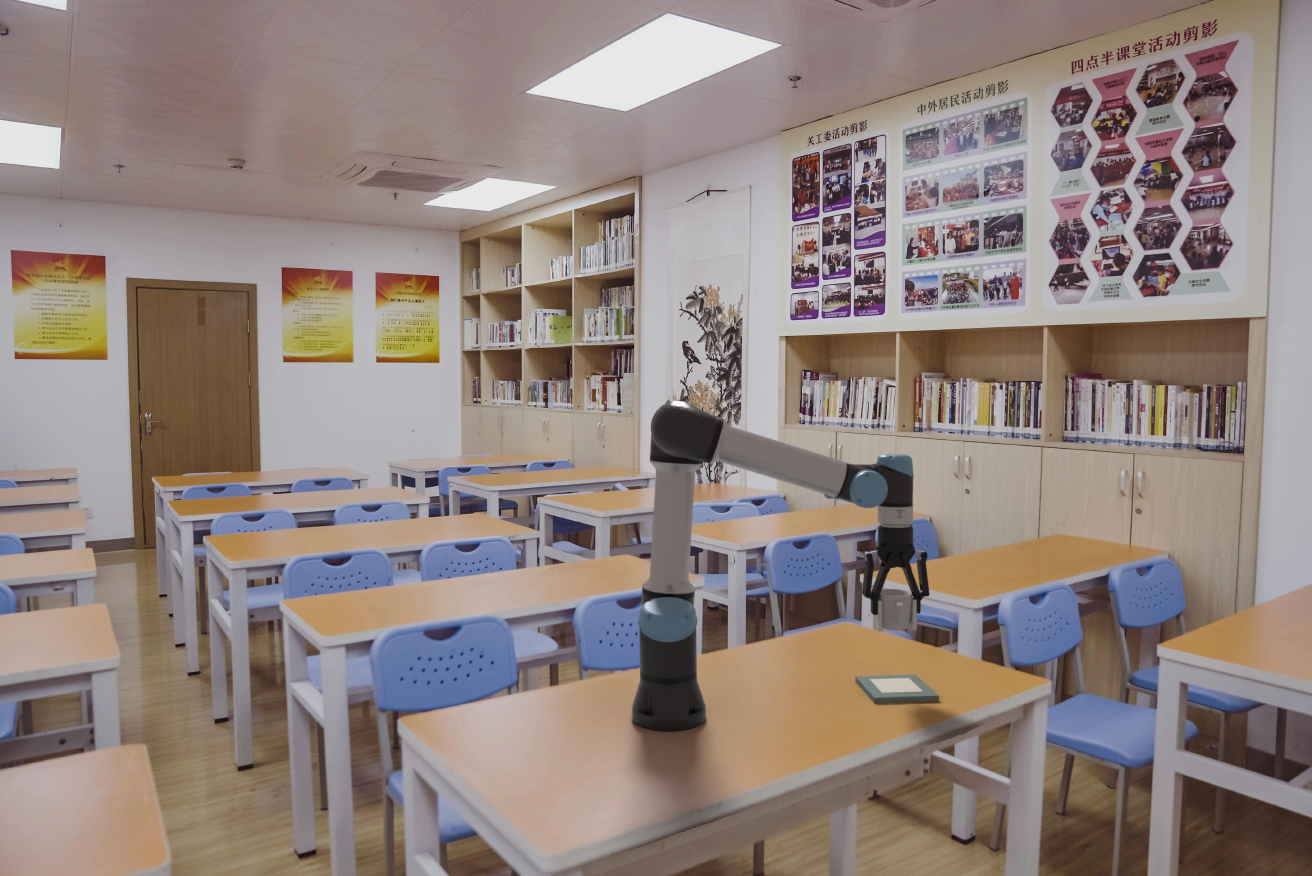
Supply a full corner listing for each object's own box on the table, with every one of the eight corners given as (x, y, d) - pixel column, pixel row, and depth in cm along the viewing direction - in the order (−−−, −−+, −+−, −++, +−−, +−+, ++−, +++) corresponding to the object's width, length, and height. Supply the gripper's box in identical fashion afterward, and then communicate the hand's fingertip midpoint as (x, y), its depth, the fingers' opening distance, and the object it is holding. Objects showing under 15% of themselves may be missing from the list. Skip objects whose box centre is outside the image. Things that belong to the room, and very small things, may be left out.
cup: (920, 636, 183) (920, 599, 183) (883, 636, 183) (883, 599, 183) (906, 623, 194) (906, 588, 193) (871, 623, 194) (871, 588, 193)
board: (874, 703, 182) (874, 697, 182) (855, 681, 196) (855, 675, 196) (939, 700, 183) (939, 694, 182) (915, 679, 197) (915, 673, 196)
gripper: (855, 528, 183) (856, 634, 184) (946, 526, 184) (946, 631, 185) (845, 523, 191) (846, 625, 192) (933, 521, 192) (933, 622, 193)
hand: (895, 628), depth 188 cm, fingers closed on cup, 7 cm apart
